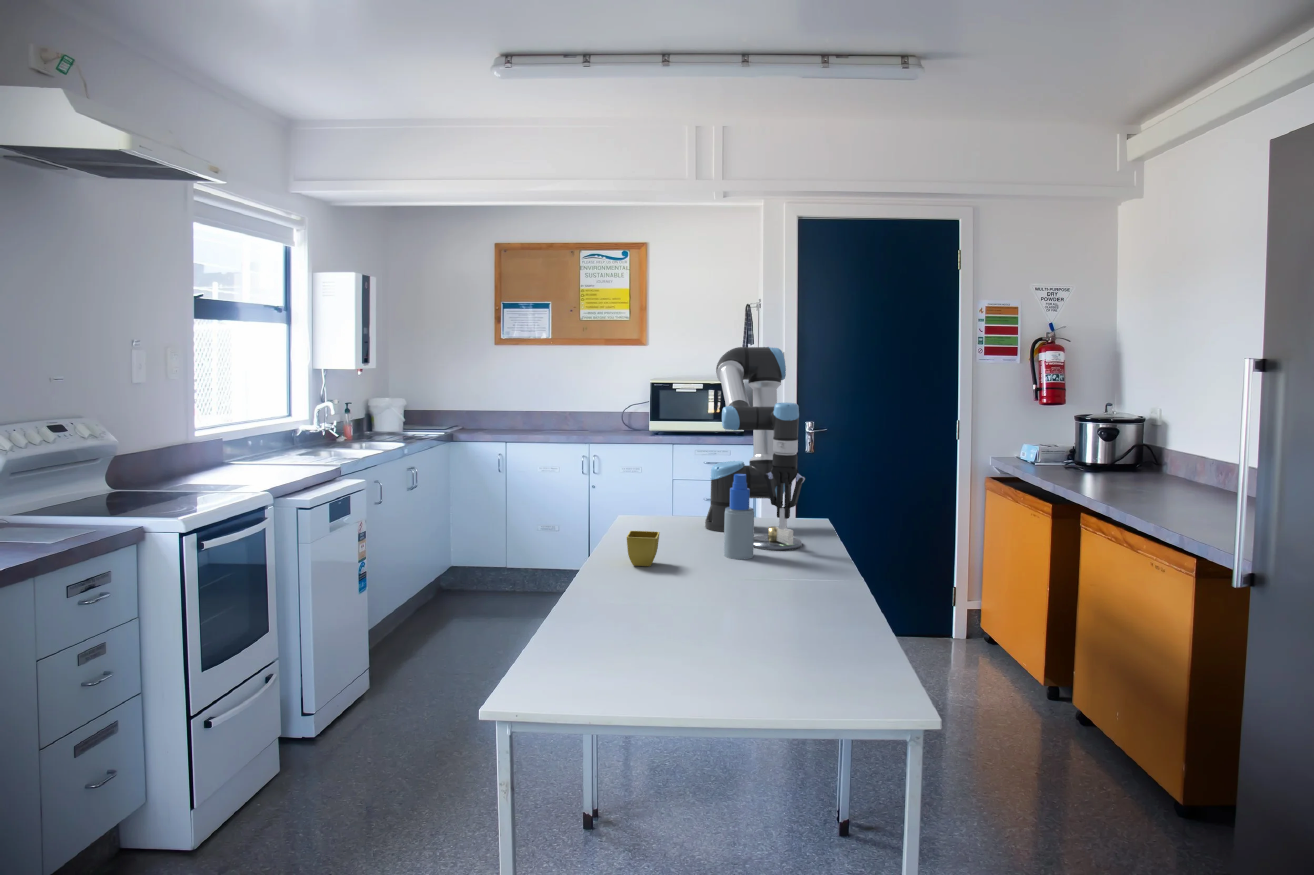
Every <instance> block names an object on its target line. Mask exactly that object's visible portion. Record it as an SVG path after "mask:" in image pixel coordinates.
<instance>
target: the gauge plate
mask: <svg viewBox="0 0 1314 875" xmlns="http://www.w3.org/2000/svg"><path fill="white" fill-rule="evenodd" d="M754 548H755V549H758V550H762V551H763V550H764V551H772V552H773V551H774V552H775V551H776V552H778V551H780V552H781V551H782V552H784V551H785V552H786V551H794V550H798V549H801V548H802V541H801V540H800V539H799V538H796V537H793V544H791V545H787V544H784V543H782V542H779V541H778V542H774V541H769V540H768V534H767V535H766V534H764V535H754V547H753V549H754Z"/></svg>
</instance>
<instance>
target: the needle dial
mask: <svg viewBox="0 0 1314 875" xmlns="http://www.w3.org/2000/svg"><path fill="white" fill-rule="evenodd" d="M767 528H768V529H767V535H768V540H769V541H774V542H778V541H779V542H782V543H784V544H787V545H791V544H793V538H794V530H793V529H790V528H788V527H787V528H785V529H779V526H775V525H774V526H768V527H767Z"/></svg>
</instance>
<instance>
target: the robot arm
mask: <svg viewBox="0 0 1314 875" xmlns="http://www.w3.org/2000/svg"><path fill="white" fill-rule="evenodd" d="M786 367H787V366H786V360H785V356H784V353H783V351H782V350H781V349H780V348H779V347H770V346H767V347H765V346H760V347H758V346H756V347H755V346H754V347H753V346H750V347H748V346H747V347H746V346H739V347H738V346H737V347H734V348H731V349H729V350H728V351H726V352H725V353H723V355H722V356H721V357H720V358H719V360H718V362H717V363H716V368H715V370H716V371H715V372H716V373H715V374H716V377H717V380H718V381H719V382H720V383H721V390H722V393H723V398H724V401H725V402H724V403H725V406H723V408H722V411H721V426H722V428H723V429H724V430H728V431H729V430H730V431H753V456H752V457H751V458H750V459H749V461H748V462H749V465H746V464H745V462H744V461H743V460H733V461H731V460H730V461H723V462H718V463H715V464H714V465H712V467H711V470H710V477H709V478H710V506H709V508H708V511H707V516H706V518H705V522H704V523H705V524H704V525H705V526H704V528H705V529H708V530H710V531H714V532H715V531H716V532H724V524H725V508H727V507H730V488H733V482H734V474H746V483H747V488H749V489H750V499H769V500H770V504H771V506H775V507H776V518H777V519H778V518H779V522H778V523H779V525H778V527H779V529H785V528H787V529H788V527H787V526H788V519H790V517H791V508H795V507H796V506H797V505H798V500H799V497H800V493H801V490H802V486H803V483H804V482H805V481H806V476H802V475H801V474H800V473H799V469H798V454H797V453H798V452H799V450H798V448H799V443H798V442H799V420H800V419H799V418H800V411H799V410H800V409H799V408H800V406H799V405H798V404H797V403H794V402H778V389H779V387H780V386H782V381H783V380H785V379H786V374H787V371H786V370H787V369H786ZM744 380H746V381H748V382H747V383H748V386H749V387H750V388H751V389H752V406H751V405H750V402H749V397H748V394H747V393H748V392H747V389H746V386H745V381H744ZM794 480H795V482H796V483H795V484H794V488H793V489H794V490H793V493H792V486H793V481H794Z"/></svg>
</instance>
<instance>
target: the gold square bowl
mask: <svg viewBox="0 0 1314 875" xmlns="http://www.w3.org/2000/svg"><path fill="white" fill-rule="evenodd" d="M660 533H661V532H660V531H651V530H650V531H649V530H647V531H646V530H645V531H644V530H629V532H628V534H627V535H626V546H627V553H628V558H629V560H630V563H631V564H632V566H634V567H651V566H652V565H653V561H655V558H656V555H657V552H658V549H659V548H658V547H659V540H660Z"/></svg>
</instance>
